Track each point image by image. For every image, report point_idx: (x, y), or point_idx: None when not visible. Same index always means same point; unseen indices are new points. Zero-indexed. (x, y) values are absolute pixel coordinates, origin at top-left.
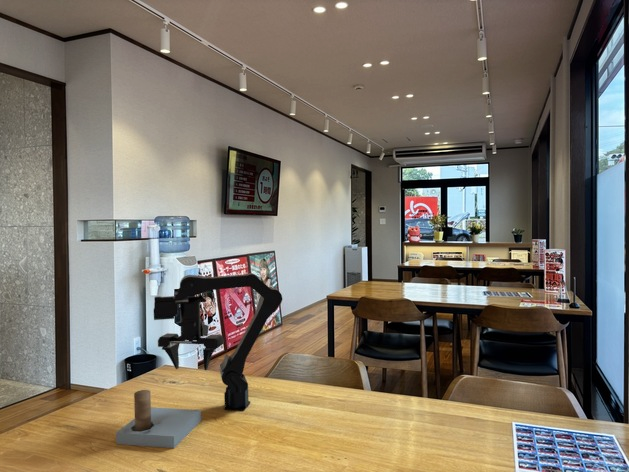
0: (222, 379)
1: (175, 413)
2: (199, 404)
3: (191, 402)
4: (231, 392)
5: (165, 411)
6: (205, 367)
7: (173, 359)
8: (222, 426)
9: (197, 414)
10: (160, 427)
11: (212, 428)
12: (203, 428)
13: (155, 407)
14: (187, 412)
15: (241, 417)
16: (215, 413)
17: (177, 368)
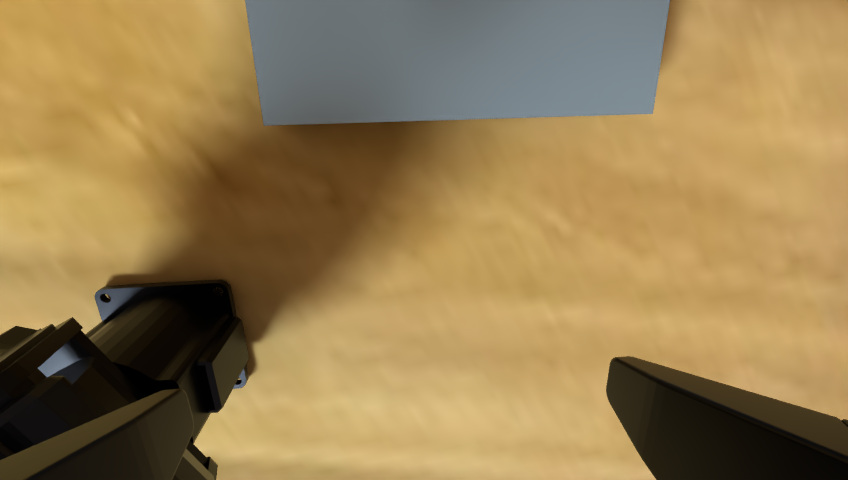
0: (75, 379)
1: (419, 35)
2: (412, 324)
3: (468, 338)
4: (120, 349)
5: (509, 59)
6: (128, 410)
7: (783, 423)
8: (103, 70)
9: (257, 63)
10: None
11: (150, 30)
12: (209, 21)
13: (610, 114)
14: (338, 66)
15: (67, 213)
16: (257, 236)
17: (611, 371)
